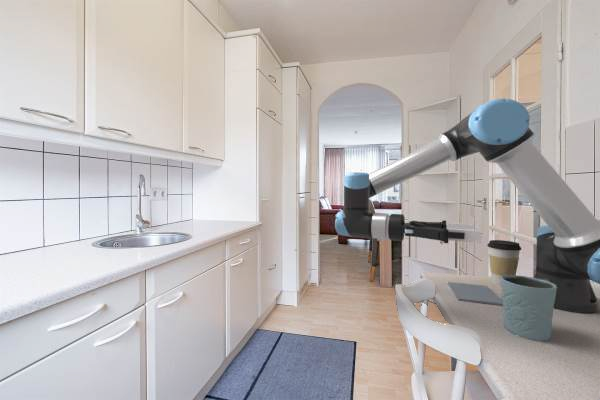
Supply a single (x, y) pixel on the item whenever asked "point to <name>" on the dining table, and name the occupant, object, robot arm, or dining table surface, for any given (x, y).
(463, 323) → the dining table surface
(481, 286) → the slate mat
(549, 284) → the embossed teal cup
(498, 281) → the coffee cup
